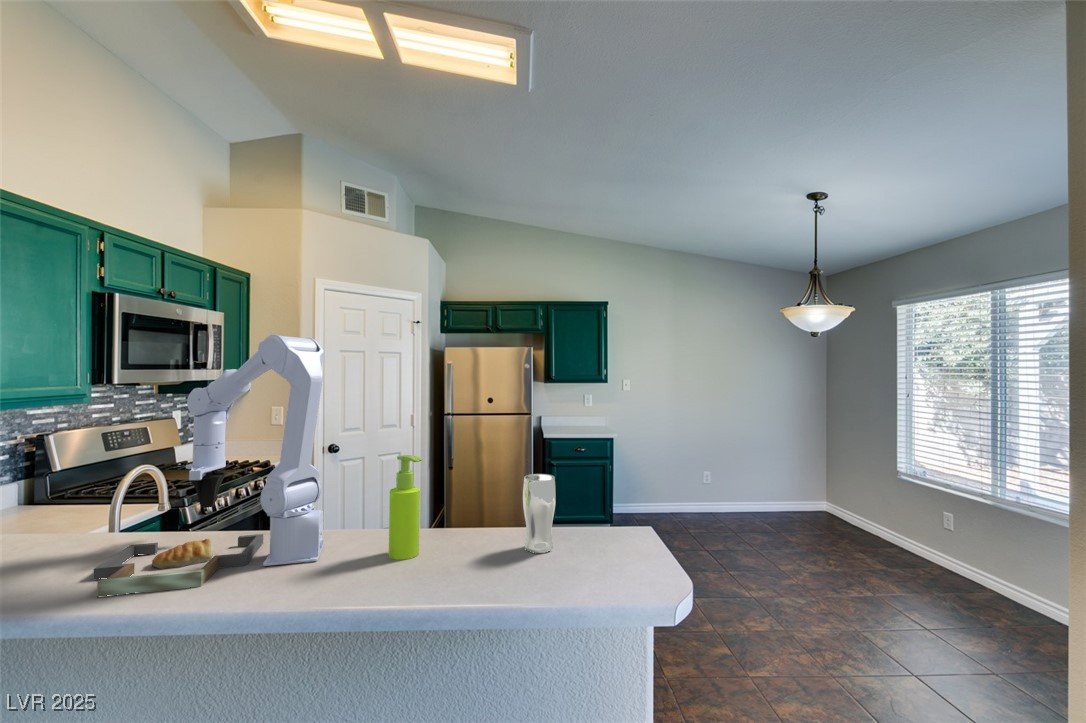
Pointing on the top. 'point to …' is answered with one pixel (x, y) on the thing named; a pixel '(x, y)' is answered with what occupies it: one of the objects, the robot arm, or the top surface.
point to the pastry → (185, 555)
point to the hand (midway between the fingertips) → (207, 506)
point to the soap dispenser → (404, 513)
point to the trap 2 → (242, 558)
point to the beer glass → (539, 511)
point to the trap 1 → (123, 559)
